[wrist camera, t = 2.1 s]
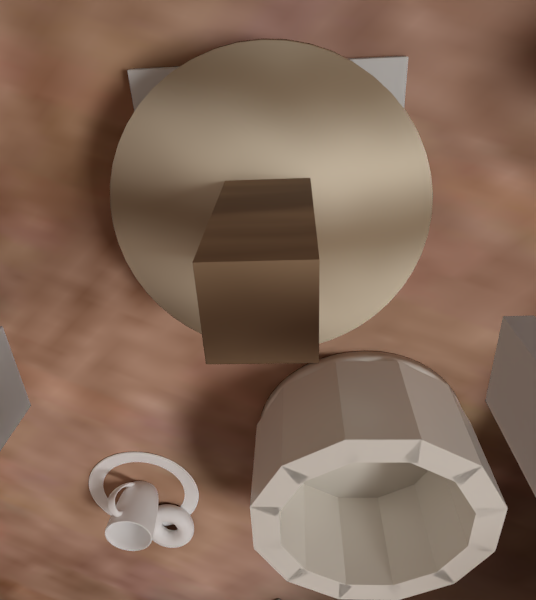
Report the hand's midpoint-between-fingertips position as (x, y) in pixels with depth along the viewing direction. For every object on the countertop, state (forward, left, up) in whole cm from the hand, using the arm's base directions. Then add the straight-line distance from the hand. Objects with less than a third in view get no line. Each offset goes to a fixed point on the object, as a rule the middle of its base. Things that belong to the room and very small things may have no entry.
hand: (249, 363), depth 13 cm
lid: (0, 0, -13) cm, 13 cm away
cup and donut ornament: (+24, -12, -14) cm, 30 cm away
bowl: (+16, +5, -13) cm, 21 cm away
